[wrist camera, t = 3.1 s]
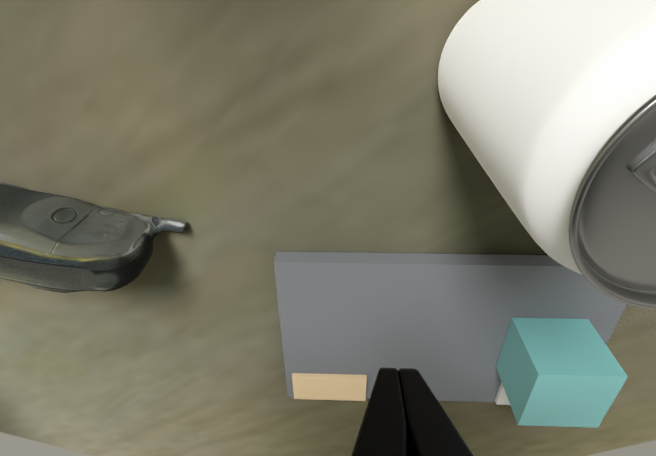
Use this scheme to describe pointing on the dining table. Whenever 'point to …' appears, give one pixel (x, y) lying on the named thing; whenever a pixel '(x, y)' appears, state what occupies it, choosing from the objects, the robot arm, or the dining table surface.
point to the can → (566, 128)
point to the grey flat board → (418, 317)
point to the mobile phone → (73, 242)
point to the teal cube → (558, 372)
